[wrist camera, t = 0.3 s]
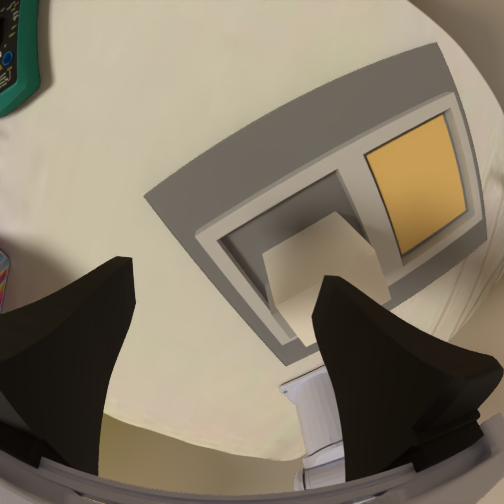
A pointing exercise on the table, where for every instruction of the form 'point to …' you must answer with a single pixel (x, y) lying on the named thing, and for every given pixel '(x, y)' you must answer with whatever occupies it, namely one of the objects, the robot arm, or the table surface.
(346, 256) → the plug
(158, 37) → the table surface
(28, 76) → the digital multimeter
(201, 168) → the grey flat tray
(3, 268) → the ink cartridge box
